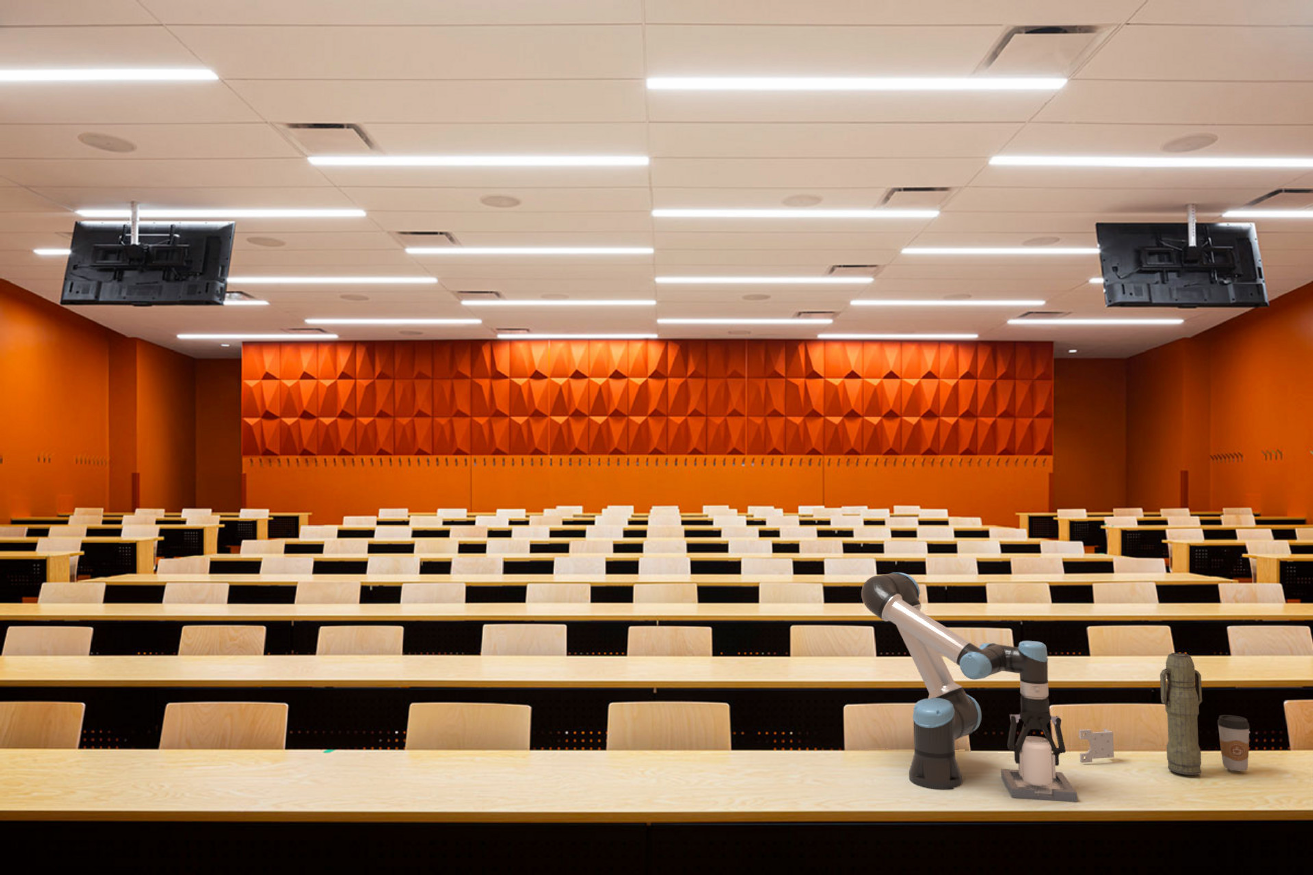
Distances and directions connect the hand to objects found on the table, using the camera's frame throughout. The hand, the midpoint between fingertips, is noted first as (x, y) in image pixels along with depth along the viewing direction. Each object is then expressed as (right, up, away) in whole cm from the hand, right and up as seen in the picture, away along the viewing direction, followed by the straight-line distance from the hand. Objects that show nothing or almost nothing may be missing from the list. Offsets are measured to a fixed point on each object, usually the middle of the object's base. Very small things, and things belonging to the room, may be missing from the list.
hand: (1037, 775), depth 249 cm
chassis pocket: (0, -4, 0) cm, 4 cm away
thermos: (+51, -4, +14) cm, 54 cm away
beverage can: (0, -2, 0) cm, 2 cm away
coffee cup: (+68, -4, +16) cm, 70 cm away
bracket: (+29, -5, +25) cm, 39 cm away
